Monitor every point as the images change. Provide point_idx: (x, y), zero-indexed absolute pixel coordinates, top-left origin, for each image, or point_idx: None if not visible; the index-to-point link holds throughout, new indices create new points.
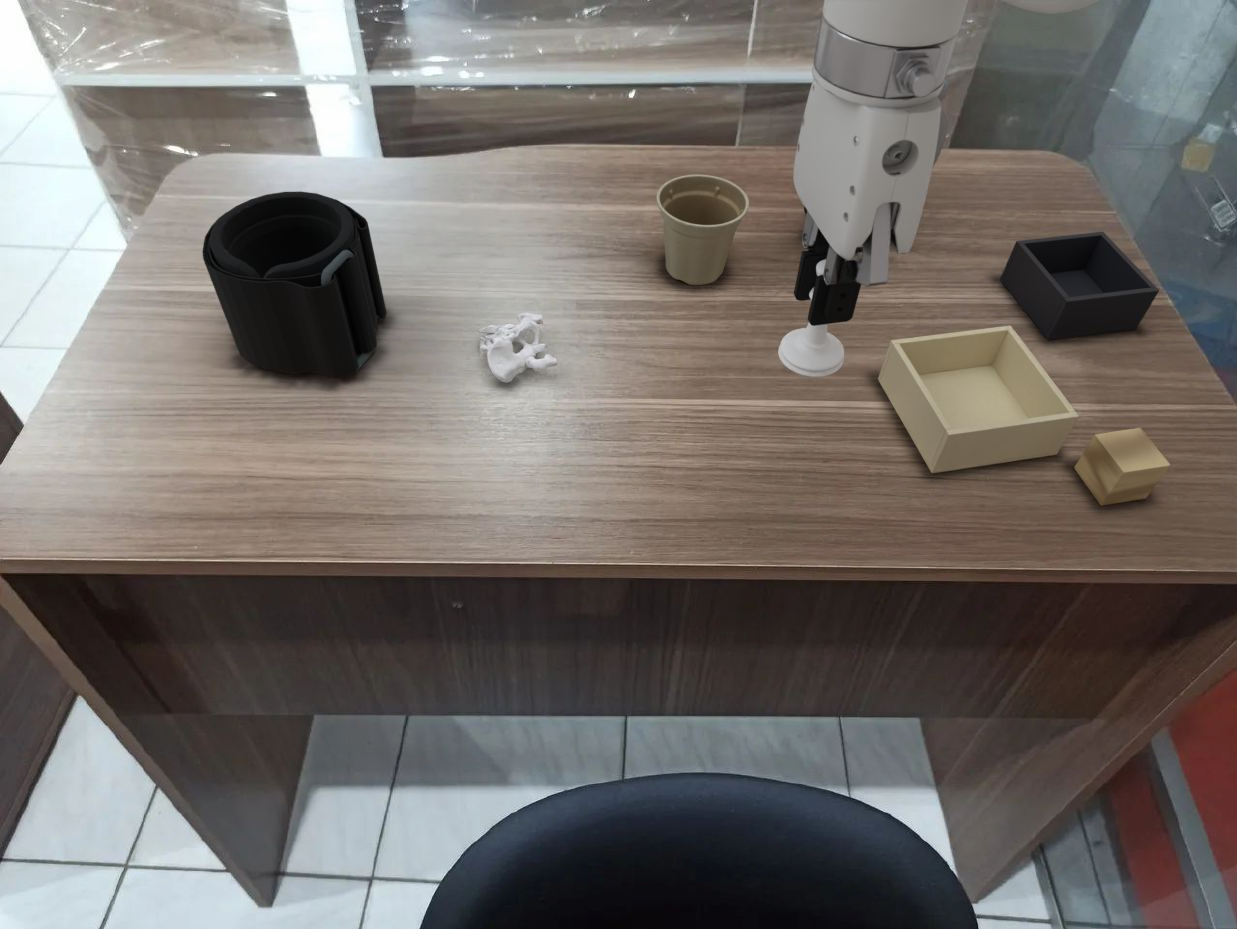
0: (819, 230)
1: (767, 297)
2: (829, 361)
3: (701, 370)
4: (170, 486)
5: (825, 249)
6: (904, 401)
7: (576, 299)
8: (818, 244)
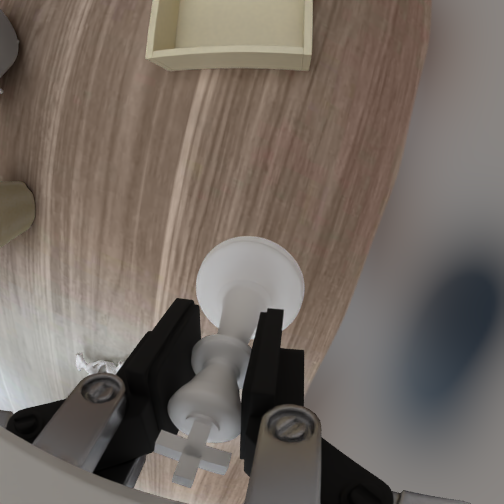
0: (110, 459)
1: (51, 149)
2: (292, 289)
3: (126, 243)
4: (202, 498)
5: (150, 428)
6: (219, 63)
7: (52, 310)
8: (144, 450)
